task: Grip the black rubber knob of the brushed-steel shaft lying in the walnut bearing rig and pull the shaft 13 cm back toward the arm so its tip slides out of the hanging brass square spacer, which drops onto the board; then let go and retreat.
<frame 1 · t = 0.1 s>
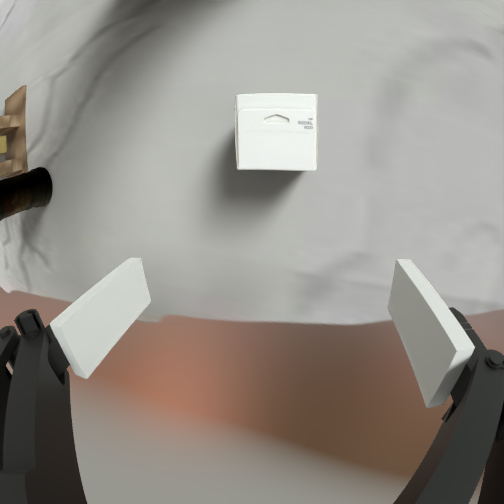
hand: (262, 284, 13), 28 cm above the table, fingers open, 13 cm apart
bearing rig: (16, 135, 42), on the table
ink box: (281, 135, 36), on the table
container: (42, 186, 46), on the table
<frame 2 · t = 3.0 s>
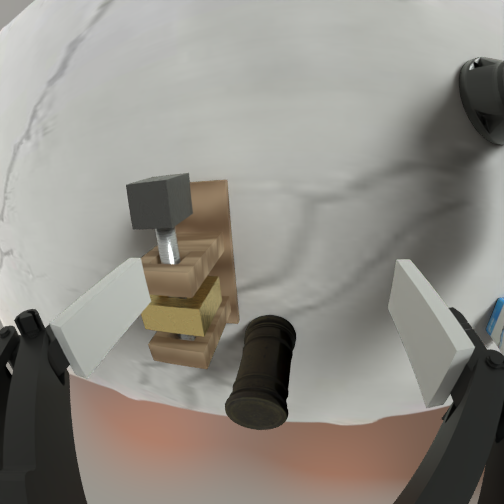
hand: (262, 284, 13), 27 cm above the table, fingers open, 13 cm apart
bearing rig: (203, 256, 44), on the table
shaft: (173, 277, 33), point 11 cm above the table, slide at 0.0 cm, touching spacer
spacer: (193, 287, 39), point 6 cm above the table, touching shaft
ink box: (502, 312, 38), on the table
container: (271, 333, 47), on the table
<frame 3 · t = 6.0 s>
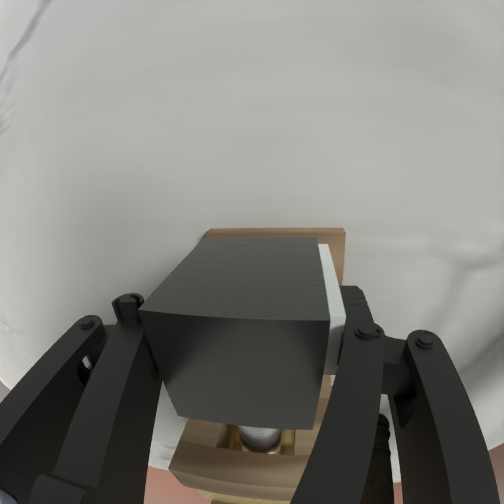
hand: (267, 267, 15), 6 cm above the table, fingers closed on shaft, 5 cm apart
bearing rig: (278, 352, 24), on the table
shaft: (261, 443, 14), point 11 cm above the table, slide at 0.0 cm, touching gripper, spacer
spacer: (271, 415, 20), point 6 cm above the table, touching shaft
container: (355, 427, 28), on the table
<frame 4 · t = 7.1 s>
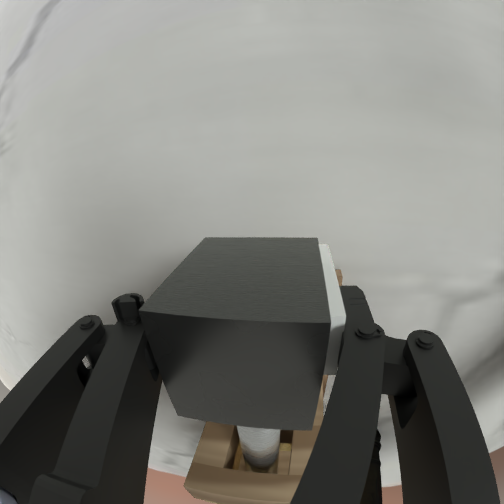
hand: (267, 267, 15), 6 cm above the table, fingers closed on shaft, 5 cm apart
bearing rig: (277, 374, 26), on the table
shaft: (260, 443, 14), point 11 cm above the table, slide at 3.3 cm, touching gripper
container: (349, 438, 30), on the table
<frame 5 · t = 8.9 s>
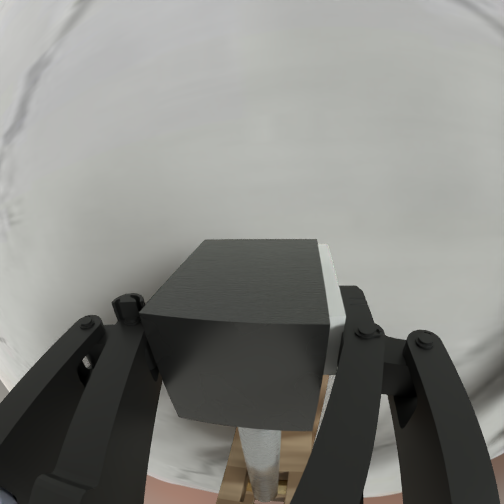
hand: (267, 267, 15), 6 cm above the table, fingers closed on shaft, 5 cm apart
bearing rig: (277, 422, 29), on the table
shaft: (261, 444, 14), point 11 cm above the table, slide at 12.8 cm, touching gripper
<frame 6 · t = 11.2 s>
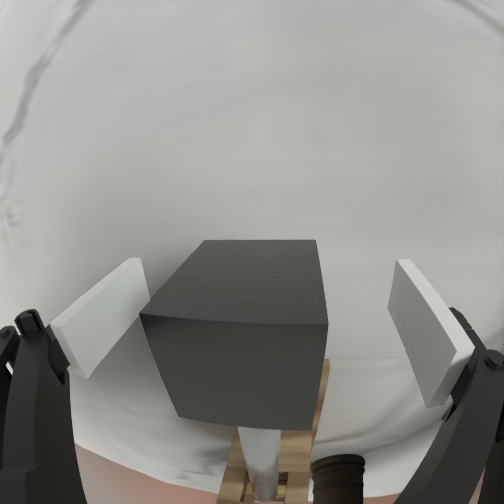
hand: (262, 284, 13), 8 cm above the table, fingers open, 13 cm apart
bearing rig: (277, 422, 29), on the table
shaft: (260, 444, 14), point 11 cm above the table, slide at 12.8 cm
container: (338, 462, 33), on the table
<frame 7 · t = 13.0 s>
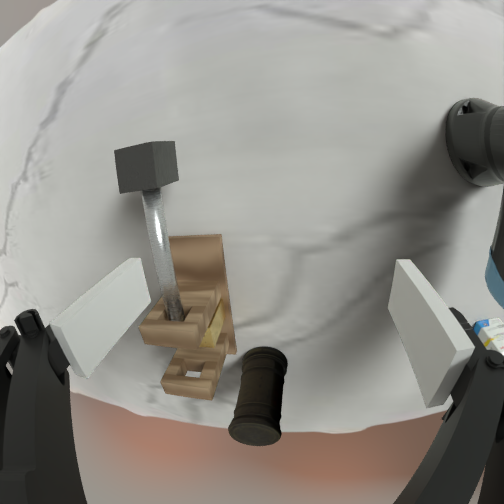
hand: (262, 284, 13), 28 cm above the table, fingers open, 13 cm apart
bearing rig: (202, 299, 48), on the table
shaft: (160, 244, 32), point 11 cm above the table, slide at 12.8 cm
spacer: (201, 306, 47), point 1 cm above the table, touching bearing rig
ink box: (481, 332, 44), on the table
container: (265, 361, 52), on the table
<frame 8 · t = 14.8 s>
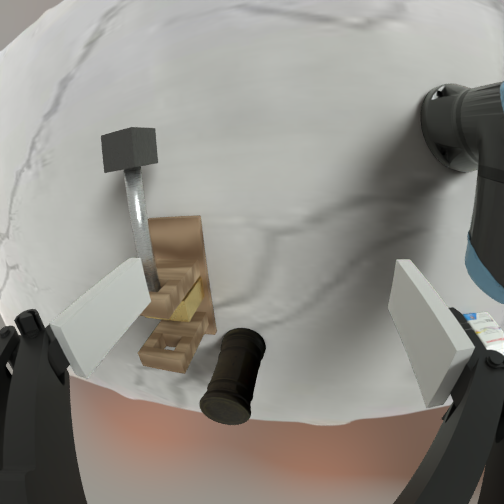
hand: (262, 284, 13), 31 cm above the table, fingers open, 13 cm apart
bearing rig: (183, 278, 50), on the table
shaft: (139, 219, 35), point 11 cm above the table, slide at 12.8 cm
spacer: (182, 285, 50), point 1 cm above the table, touching bearing rig
ink box: (469, 327, 45), on the table
container: (244, 343, 54), on the table
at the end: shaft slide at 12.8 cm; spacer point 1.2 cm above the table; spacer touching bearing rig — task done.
